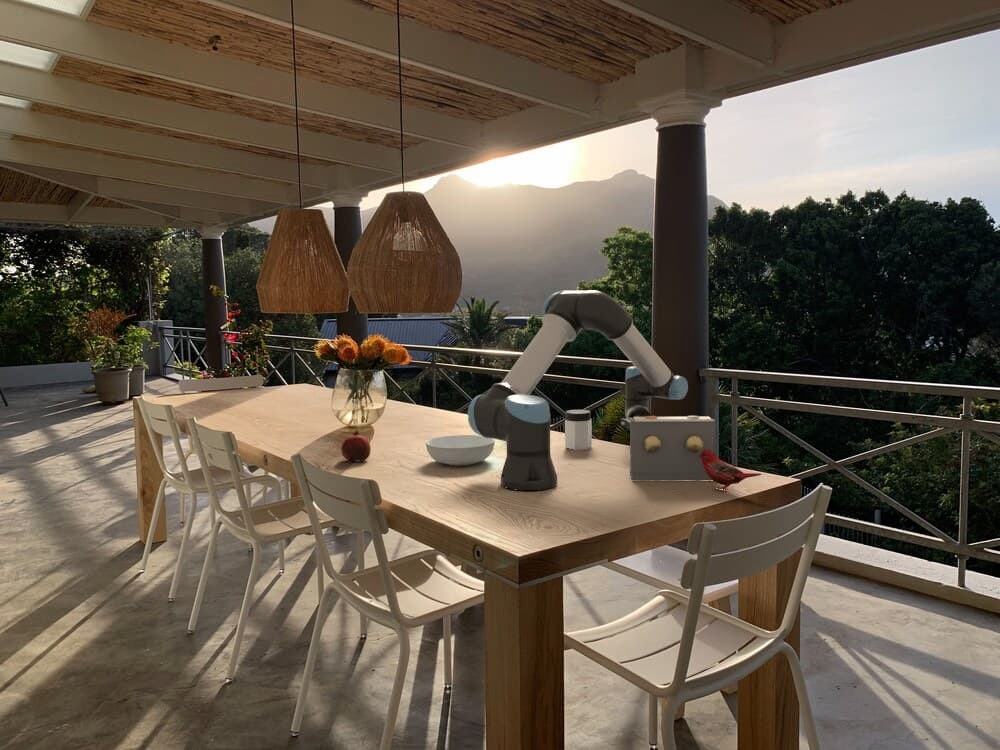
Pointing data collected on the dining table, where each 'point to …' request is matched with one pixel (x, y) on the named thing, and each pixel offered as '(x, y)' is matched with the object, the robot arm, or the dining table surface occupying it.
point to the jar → (578, 430)
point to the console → (669, 447)
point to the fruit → (356, 447)
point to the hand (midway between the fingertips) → (646, 432)
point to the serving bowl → (460, 449)
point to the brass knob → (652, 443)
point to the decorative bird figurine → (722, 470)
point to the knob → (694, 443)
